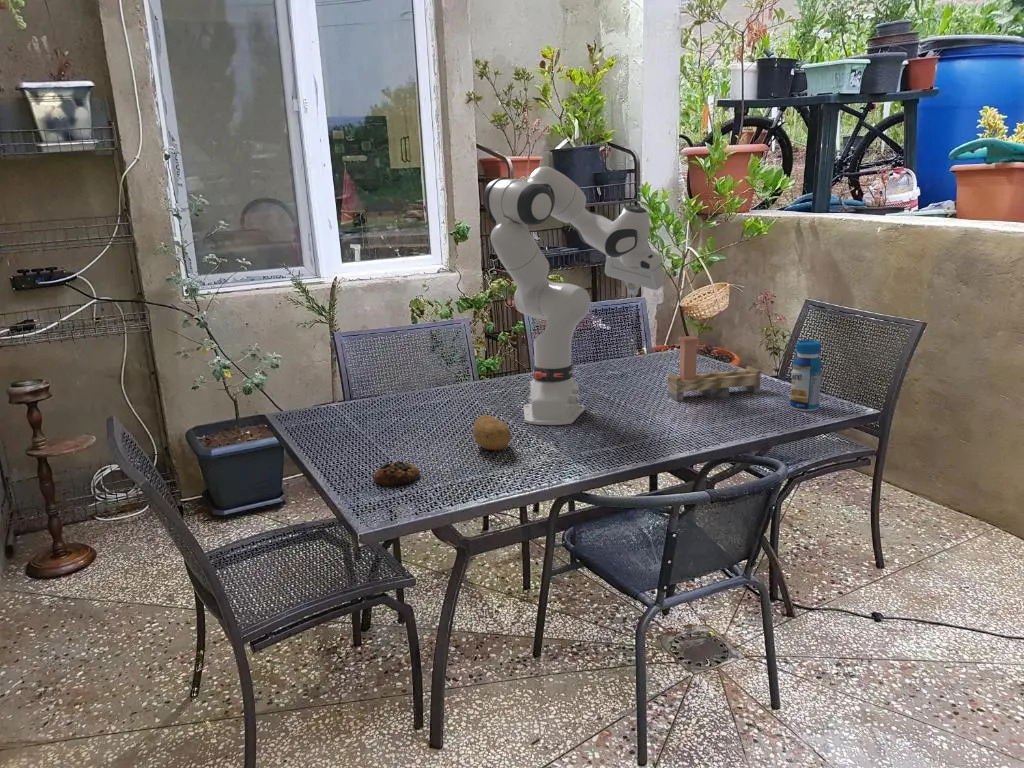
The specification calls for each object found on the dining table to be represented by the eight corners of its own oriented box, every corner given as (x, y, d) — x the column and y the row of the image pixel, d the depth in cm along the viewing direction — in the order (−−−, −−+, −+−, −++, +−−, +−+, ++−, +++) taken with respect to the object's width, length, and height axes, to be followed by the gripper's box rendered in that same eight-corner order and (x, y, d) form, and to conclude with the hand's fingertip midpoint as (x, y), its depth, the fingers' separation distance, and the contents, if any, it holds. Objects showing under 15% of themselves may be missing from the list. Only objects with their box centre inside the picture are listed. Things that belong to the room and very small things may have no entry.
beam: (677, 402, 230) (678, 379, 228) (666, 394, 239) (667, 372, 237) (761, 394, 235) (762, 371, 233) (747, 387, 244) (748, 365, 242)
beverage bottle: (822, 412, 216) (827, 345, 210) (792, 412, 217) (796, 345, 212) (815, 403, 224) (820, 338, 218) (786, 403, 225) (790, 338, 220)
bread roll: (386, 491, 172) (384, 470, 171) (366, 483, 181) (364, 463, 180) (429, 480, 178) (426, 460, 177) (407, 473, 187) (405, 454, 186)
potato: (484, 460, 188) (483, 430, 186) (466, 443, 201) (465, 415, 199) (520, 453, 192) (519, 424, 190) (500, 437, 205) (499, 410, 202)
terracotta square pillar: (683, 384, 231) (684, 340, 228) (677, 380, 236) (678, 337, 232) (697, 382, 232) (699, 338, 228) (691, 378, 237) (692, 335, 233)
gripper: (600, 251, 238) (600, 289, 246) (657, 267, 227) (655, 306, 235) (611, 244, 242) (611, 281, 250) (667, 258, 231) (665, 297, 239)
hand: (633, 293), depth 242 cm, fingers closed
